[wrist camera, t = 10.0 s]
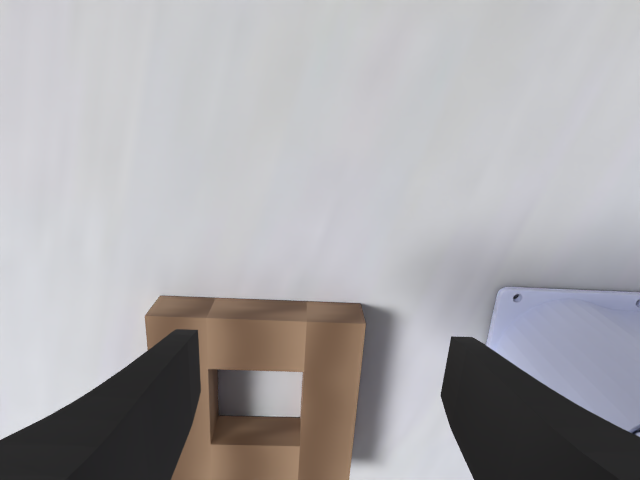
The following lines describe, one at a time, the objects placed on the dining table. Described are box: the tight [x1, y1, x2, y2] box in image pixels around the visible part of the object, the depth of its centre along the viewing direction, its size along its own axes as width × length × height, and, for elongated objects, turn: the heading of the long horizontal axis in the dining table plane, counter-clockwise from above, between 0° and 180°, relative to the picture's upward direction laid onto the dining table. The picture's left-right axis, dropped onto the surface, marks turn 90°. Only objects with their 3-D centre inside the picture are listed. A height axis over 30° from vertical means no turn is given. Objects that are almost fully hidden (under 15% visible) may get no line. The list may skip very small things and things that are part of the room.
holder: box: [145, 296, 366, 480], centre depth 23 cm, size 11×11×2 cm
